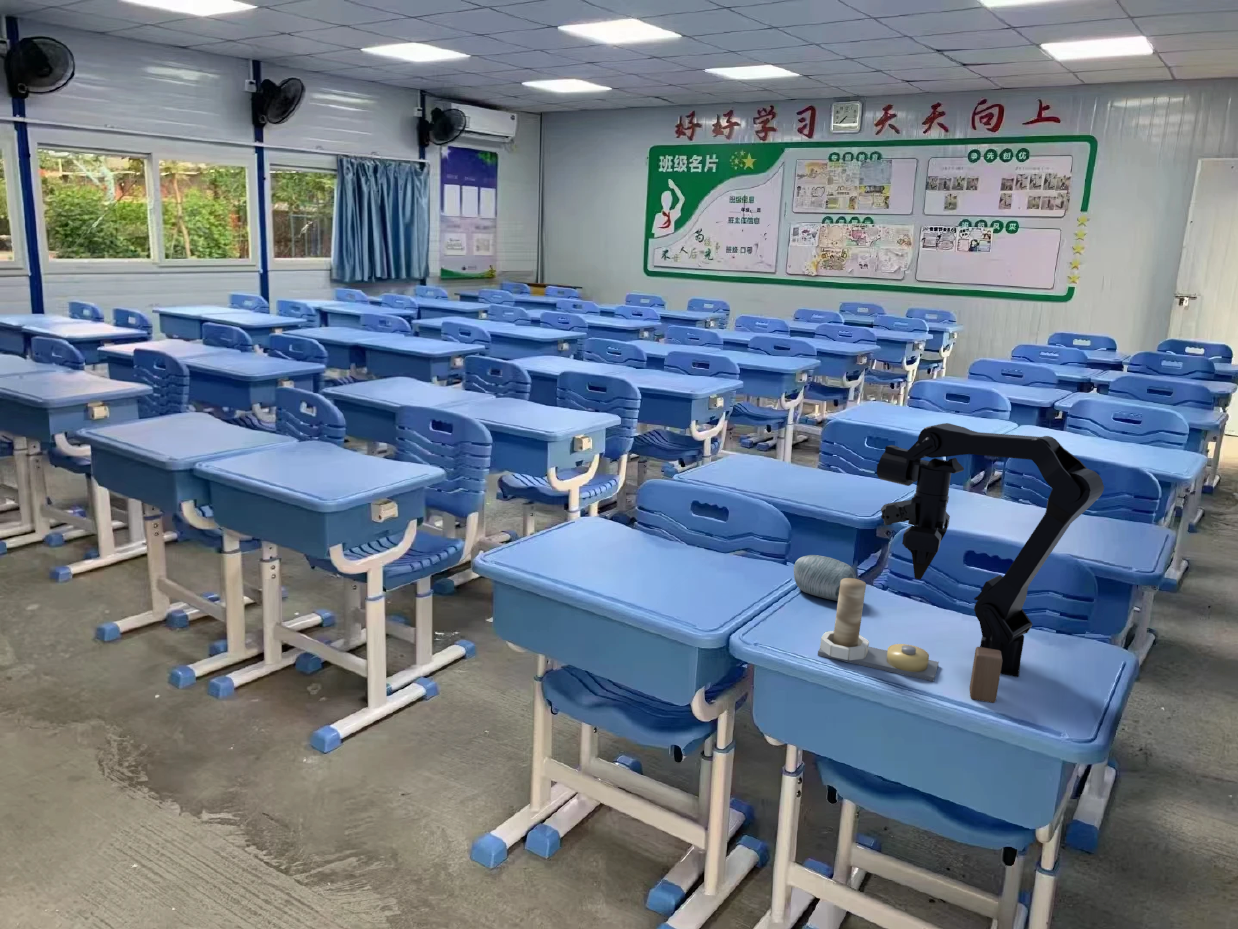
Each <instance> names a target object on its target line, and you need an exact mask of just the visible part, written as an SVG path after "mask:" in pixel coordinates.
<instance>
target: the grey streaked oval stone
mask: <svg viewBox="0 0 1238 929" xmlns="http://www.w3.org/2000/svg"><path fill="white" fill-rule="evenodd" d="M793 578H794V581H795V584H796V586H797V588H798V589H800V590H801V591H802V592H804V593H806V594H808V595H811V596H814V597H818V598H822V599H827V600H831V601H835V602H838V597H839V590H840V582H841V580H842V579H844V578H854V579H857V576H856V573H855V570H854V568H853V567H852V566H850V564H847V563H846V562H843V561H840V560H839V559H836V558H833V557H830V556H823V555H817V554H808V555H804V556H801V557H799V558H797V560H796V561H795V563H794V565H793Z"/></svg>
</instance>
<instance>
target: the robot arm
mask: <svg viewBox="0 0 1238 929" xmlns="http://www.w3.org/2000/svg"><path fill="white" fill-rule="evenodd" d="M962 455H963V456H964V455H976V456H985V457H986V456H987V457H997V458H998V457H999V458H1007V459H1008V458H1009V459H1016V460H1017V459H1019V460H1031V461H1032V462H1033V463H1034V464H1035V465H1036V467H1037V469H1038V470H1039V472H1040V474H1041V476H1042V478H1043V479H1044V481H1045V482H1046V483H1047V485H1048V486H1049V487H1050V488H1051V491H1050V494H1049V495H1048V498H1047V502H1046V508H1045V512H1044V514H1043V516H1042V518H1041V519H1040V521H1039V522H1038V524H1037V525H1036V527H1035V529H1034V530H1033V532H1032V533H1031V534H1030V536H1028V537H1029V538H1028V539H1027V541H1026V542H1025V544H1024V545H1023V547H1022V548H1021V550H1020V551H1019V553H1018V554H1017V555H1016V557H1015V558H1014V560H1013V562H1012V563H1011V565H1010V567H1009V568H1008V569H1007V571H1006V572H1005V574H1004V575H1003V576H1002V575H1001V574H999V575H997V576H995V577H992V578H991V579H989V580H986V581H985V582H984V584H983V586H982V589H981V592H979V594H978V595H977V596H975V597H974V598H973V599H974V601H976V602H975V604H974V607H973V611H974V613H975V617H976V619H977V621H978V622H979V627H980V629H981V630H980V631H981V635H982V636H981V640H980V645H979V647H983V648H989V649H995V650H1000V651H1001V655H1002V667H1001V673H1000V675H1005V676H1006V675H1007V676H1011V677H1015V678H1016V677H1017V678H1018V677H1020V672H1021V661H1022V660H1021V659H1022V655H1023V648H1024V642H1025V634H1028V633H1029V631H1030V630H1031V628H1032V626H1033V622H1032V621H1031V619H1030V618H1029V616H1028V615H1027V614H1026V612H1025V611H1024V609H1023V608H1024V607H1023V606H1024V604H1025V602H1026V600H1027V595H1028V590H1029V589H1028V588H1029V586H1030V585H1031V583H1032V581H1033V580H1034V578H1035V576H1037V574H1038V573H1039V571H1040V570H1041V568H1042V567H1043V565H1044V564H1045V562H1046V561H1047V559H1048V558H1049V557H1050V555H1051V553H1052V552H1053V550H1055V548H1056V546H1057V545H1058V543H1059V542H1060V541H1061V539H1062V538H1063V536H1064V535H1065V533H1066V532H1067V530H1068V529H1069V527H1070V525H1071V524H1072V523H1073V522H1074V521H1076V520H1077V519H1078V518H1079V517H1080V516H1081V515H1083V513H1085V512H1086V511H1087V510H1088V509H1090V507H1091V506H1092V505H1093V504H1094V503H1095V502H1096V501H1098V500H1099V498H1100V497H1101V496H1102V494H1103V492H1104V490H1105V486H1104V482H1103V479H1102V477H1101V476H1100V474H1098V473H1097V472H1096V471H1094V470H1093V469H1092V470H1091V469H1089V468H1088V467H1087V466H1086V465H1085V464H1084V463H1083V462H1082V461H1081V460H1080V459H1079V458H1077V457H1076V456H1075V455H1073V454H1072V453H1071V452H1069V451H1068V450H1067V449H1065V448H1064V446H1062V444H1061V443H1060V442H1059V441H1058V440H1057V439H1056V438H1054V437H1052V436H1050V435H1044V436H1034V435H1019V434H1009V433H1007V434H1006V433H992V432H979V431H974V430H971V429H968V428H967V427H964V426H960V425H957V424H953V423H948V422H947V423H939V424H934V425H929V426H926V427H924V428H923V429H922V430H921V431H920V433H919V434H918V437H917V441H916V442H915V443H914V444H912V445H911V447H910V448H909V449H908V448H902V447H899V446H897V445H893V444H891V445H887V446H885V449H884V452H882V454H881V456H880V459H879V461H878V463H877V465H876V475H877V477H878V479H880V480H882V481H886V482H891V483H894V484H897V485H898V484H899V485H903V486H906V487H910V486H911V485H913V483H916V486H915V487H916V488H915V493H914V495H913V497H911V499H908V500H907V499H906V500H901V501H895V502H889V503H885V504H884V505H882V506H881V508H880V511H881V516H880V518H881V519H882V520H883V524H884V526H891V525H893V524H896V523H903V522H908V523H907V524H908V525H910V526H909V527H908V528H907V529H905V530H904V533H903V534H902V535H903V536H902V543H901V544H902V545H903V547H904V548H906V549H907V550H908V551H909V552H910V554H911V557H912V564H913V565H912V567H913V576H914V579H916V580H920V581H921V580H922V578H923V577H924V575H925V573H926V572H927V570H928V568H929V566H930V565H931V564H932V562H933V560H934V558H935V557H936V555H937V553H938V552H939V550H940V546H941V542H942V540H943V539H944V538H945V535H946V533H947V531H948V528H949V525H950V518H951V516H950V515H949V513H948V512H947V505H948V504H949V499H950V496H949V492H950V484H951V479H952V478H951V476H952V474H957V473H960V472H964V470H965V468H964V466H962V464H961V463H960V462H959V461H958V458H956V457H954V456H962ZM946 457H952V458H949V459H948V460H945V459H940V458H946ZM925 458H930V459H931V460H925Z"/></svg>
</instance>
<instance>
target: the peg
mask: <svg viewBox="0 0 1238 929" xmlns="http://www.w3.org/2000/svg"><path fill="white" fill-rule="evenodd" d="M866 588H867V583H866V582H865V581H864V580H860V579H858V578H856V579H854V578H844V579H842V580H841V582H840V590H839V597H838V601H837V605H836V612H835V613H836V614H835V622H834V629H833V631H834V635H833V643H834V644H836V645H840V646H845V647H856V646H858V639H859V635H860V631H861V625H862V624H861V623H862V615H863V610H864V609H863V607H864V604H865V603H864V602H865V595H866V594H865V593H866Z"/></svg>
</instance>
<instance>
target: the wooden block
mask: <svg viewBox="0 0 1238 929" xmlns="http://www.w3.org/2000/svg"><path fill="white" fill-rule="evenodd" d="M1001 667H1002V655H1001V651H1000V650H995V649H989V648H983V647H980V646H976V647H975V651H974V657H973V663H972V670H971V676H970V682H969V696H970V699H972V700H977V701H981V702H987V703H991V704H995V703H996V702H997V697H998V691H999V684H1000V679H1001V678H1000V677H1001Z"/></svg>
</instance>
